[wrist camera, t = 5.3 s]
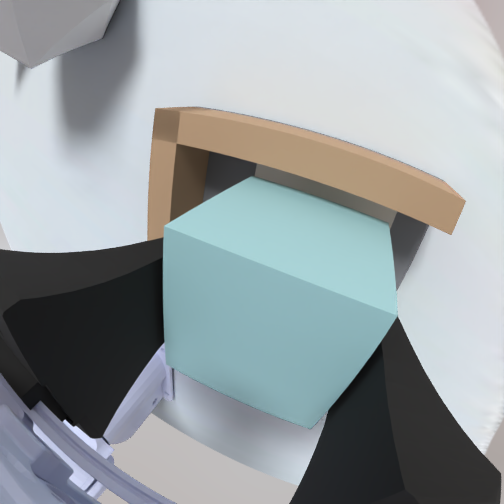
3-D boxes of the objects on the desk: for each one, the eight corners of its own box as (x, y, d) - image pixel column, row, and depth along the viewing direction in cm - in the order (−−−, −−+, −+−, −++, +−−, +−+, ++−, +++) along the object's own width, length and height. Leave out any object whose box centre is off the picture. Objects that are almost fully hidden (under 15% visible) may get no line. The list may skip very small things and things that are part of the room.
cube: (388, 222, 9) (397, 315, 5) (339, 328, 11) (310, 429, 7) (252, 175, 10) (164, 225, 6) (231, 285, 13) (165, 364, 8)
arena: (352, 358, 15) (343, 400, 12) (179, 287, 17) (150, 315, 15) (443, 180, 9) (465, 201, 7) (197, 106, 12) (155, 108, 9)
